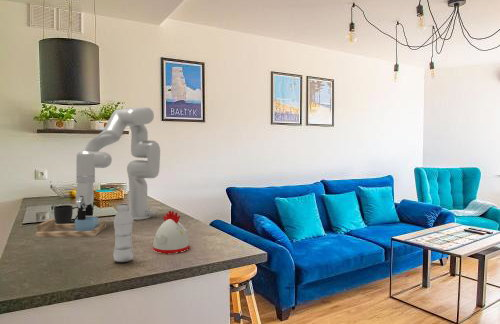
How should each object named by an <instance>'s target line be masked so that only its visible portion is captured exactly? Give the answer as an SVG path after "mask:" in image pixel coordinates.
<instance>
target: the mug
mask: <svg viewBox="0 0 500 324" xmlns="http://www.w3.org/2000/svg"><path fill="white" fill-rule="evenodd" d="M74 209H78V208H77V206H75V207H73V205H68V204H67V205H66V204H65V205H56V206H54V207H53V215H54V218H55V224H75V220H76V219H77V218H78V214H77V215H76V216H75V218H74V219H73V212H74V211H73V210H74ZM72 219H73V220H72Z"/></svg>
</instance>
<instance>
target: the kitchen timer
mask: <svg viewBox="0 0 500 324" xmlns="http://www.w3.org/2000/svg"><path fill="white" fill-rule="evenodd" d="M180 218H181V216H180V215H178V212H176V211H172V210H169V211H168V212H166V213H165V215H163V220H164V221H163V222H162V223H161V225H160V226H159V227H158V229H157V230H156V233H155V235H154V240H153V242H152V243H153V244H152V249H153V250H155V251H157V252H161V253H176V252H181V251H184V250H187V249H188V248H189V249H190V240H189V237H188V230H187V229H186V228H185V227H184V226H183V224H182V223H181V222H179V220H180ZM189 249H188V250H189ZM188 250H187V251H188Z"/></svg>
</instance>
